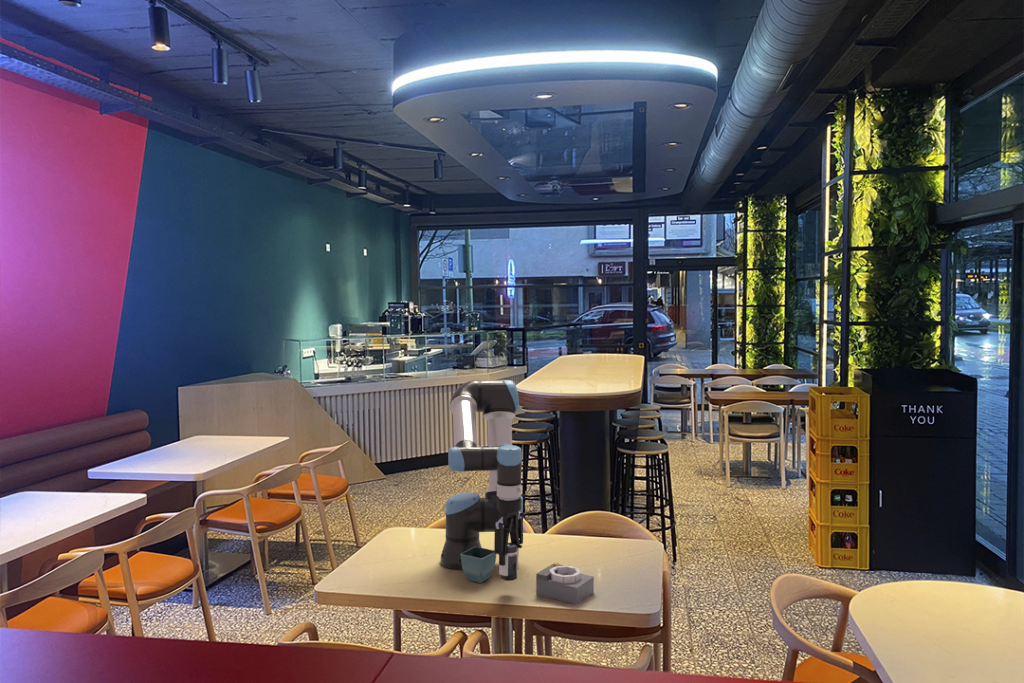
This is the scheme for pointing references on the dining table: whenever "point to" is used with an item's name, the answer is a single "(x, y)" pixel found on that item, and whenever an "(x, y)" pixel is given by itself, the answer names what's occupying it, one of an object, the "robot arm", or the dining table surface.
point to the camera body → (564, 583)
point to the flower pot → (478, 563)
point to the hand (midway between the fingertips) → (508, 571)
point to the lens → (511, 562)
